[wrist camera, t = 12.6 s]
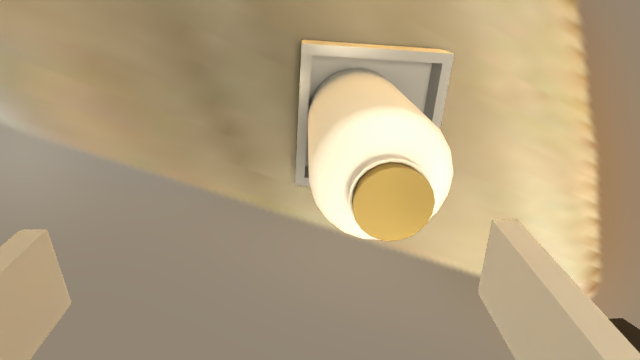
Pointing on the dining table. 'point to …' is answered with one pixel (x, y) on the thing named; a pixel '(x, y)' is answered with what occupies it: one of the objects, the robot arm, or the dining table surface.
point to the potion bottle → (374, 157)
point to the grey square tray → (390, 61)
